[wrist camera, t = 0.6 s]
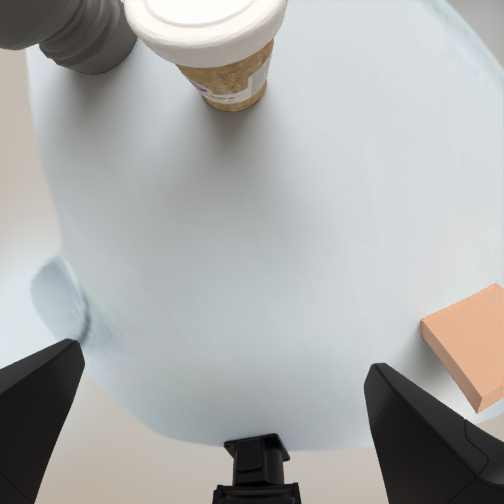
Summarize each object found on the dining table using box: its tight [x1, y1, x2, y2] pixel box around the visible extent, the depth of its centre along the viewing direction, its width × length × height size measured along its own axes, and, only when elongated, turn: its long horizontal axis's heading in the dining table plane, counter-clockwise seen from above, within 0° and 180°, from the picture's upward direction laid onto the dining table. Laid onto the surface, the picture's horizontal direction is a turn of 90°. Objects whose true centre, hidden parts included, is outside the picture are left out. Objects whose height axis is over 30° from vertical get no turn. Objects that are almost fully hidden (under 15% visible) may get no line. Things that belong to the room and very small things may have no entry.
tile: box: [421, 283, 504, 414], centre depth 18 cm, size 2×10×11 cm, turn 108°
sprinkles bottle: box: [124, 0, 288, 111], centre depth 11 cm, size 5×5×14 cm
